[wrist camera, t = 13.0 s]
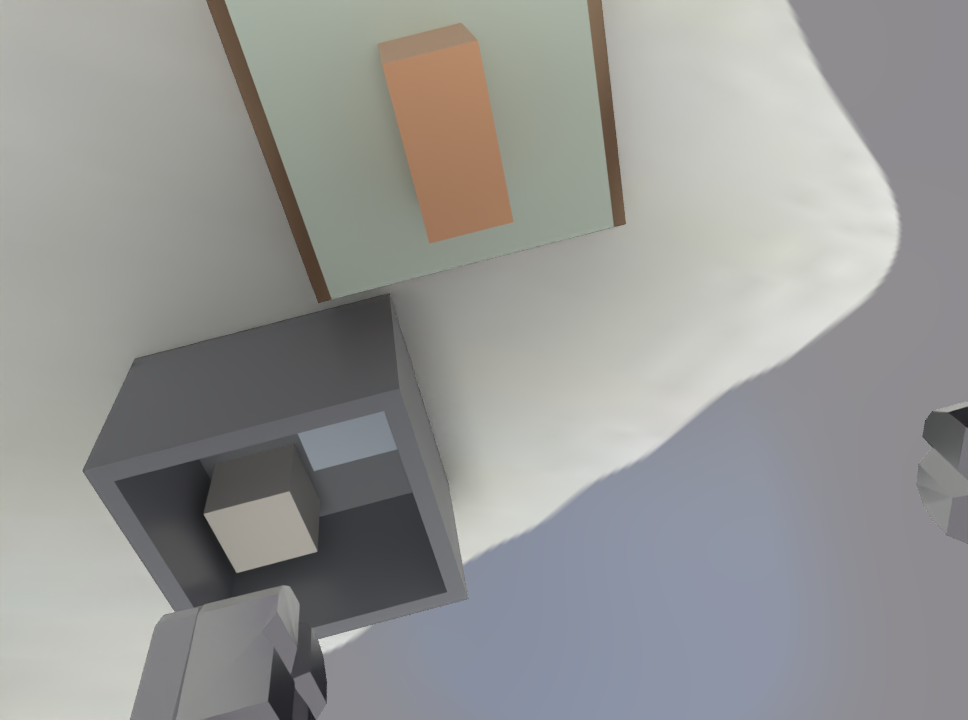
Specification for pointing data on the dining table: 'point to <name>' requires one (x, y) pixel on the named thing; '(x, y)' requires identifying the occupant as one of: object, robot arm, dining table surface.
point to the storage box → (285, 471)
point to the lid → (430, 128)
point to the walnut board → (278, 170)
